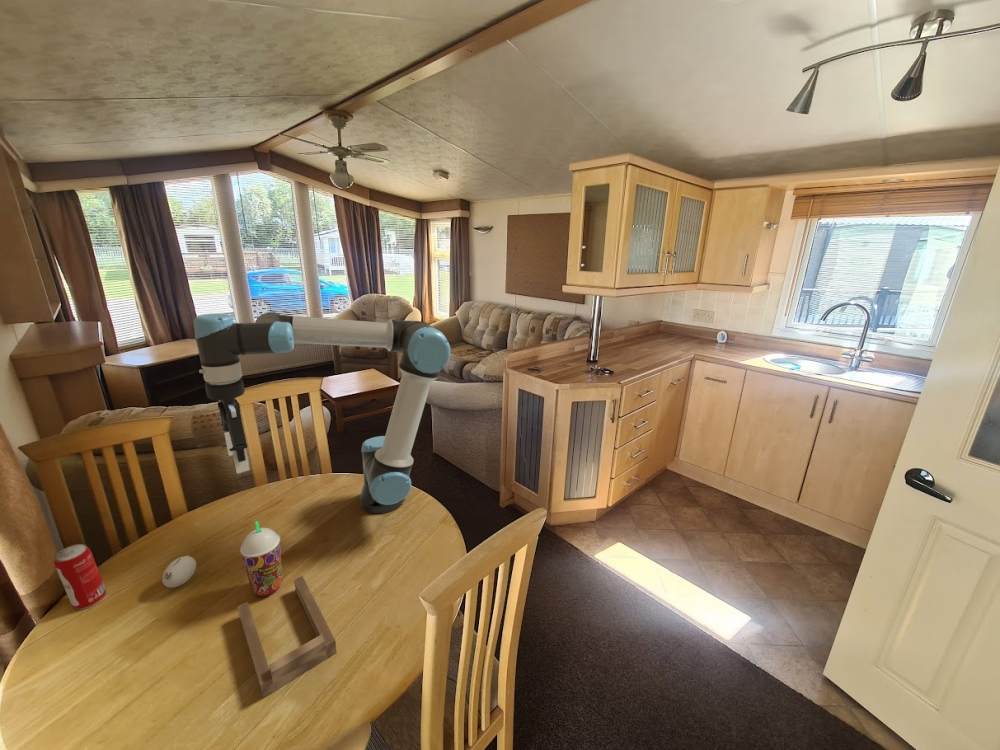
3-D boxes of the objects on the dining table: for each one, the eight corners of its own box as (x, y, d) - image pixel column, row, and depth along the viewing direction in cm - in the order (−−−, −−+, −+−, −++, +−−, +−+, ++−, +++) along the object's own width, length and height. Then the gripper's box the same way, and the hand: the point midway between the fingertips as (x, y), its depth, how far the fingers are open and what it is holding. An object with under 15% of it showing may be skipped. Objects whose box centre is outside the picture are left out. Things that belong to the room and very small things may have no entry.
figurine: (181, 571, 103) (175, 550, 101) (205, 570, 103) (200, 550, 101) (158, 596, 95) (152, 574, 93) (184, 596, 96) (178, 574, 94)
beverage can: (106, 586, 98) (90, 536, 93) (107, 602, 93) (90, 551, 89) (71, 599, 94) (53, 548, 89) (70, 617, 89) (51, 565, 85)
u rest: (304, 586, 100) (301, 570, 99) (336, 652, 84) (334, 635, 83) (239, 617, 91) (236, 601, 90) (263, 698, 75) (259, 679, 74)
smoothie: (270, 605, 95) (258, 536, 89) (240, 597, 96) (226, 530, 90) (294, 578, 102) (284, 514, 96) (266, 572, 104) (255, 508, 98)
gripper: (198, 370, 99) (214, 449, 105) (212, 397, 83) (229, 487, 90) (233, 366, 104) (246, 441, 110) (252, 390, 88) (266, 476, 94)
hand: (238, 462), depth 100 cm, fingers open, 10 cm apart
